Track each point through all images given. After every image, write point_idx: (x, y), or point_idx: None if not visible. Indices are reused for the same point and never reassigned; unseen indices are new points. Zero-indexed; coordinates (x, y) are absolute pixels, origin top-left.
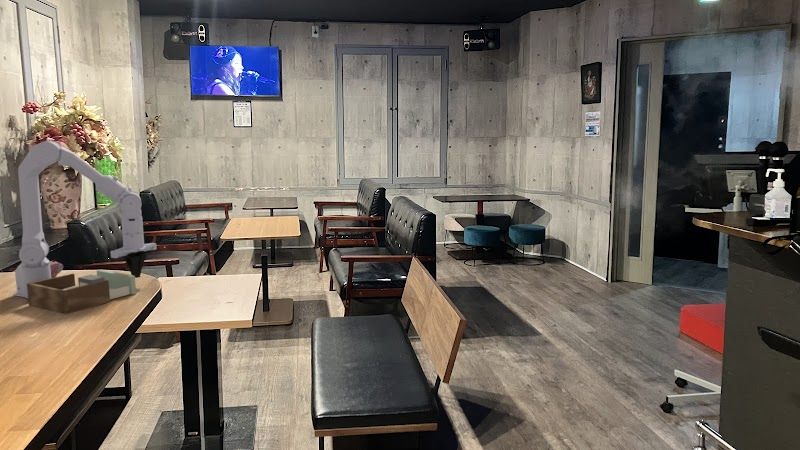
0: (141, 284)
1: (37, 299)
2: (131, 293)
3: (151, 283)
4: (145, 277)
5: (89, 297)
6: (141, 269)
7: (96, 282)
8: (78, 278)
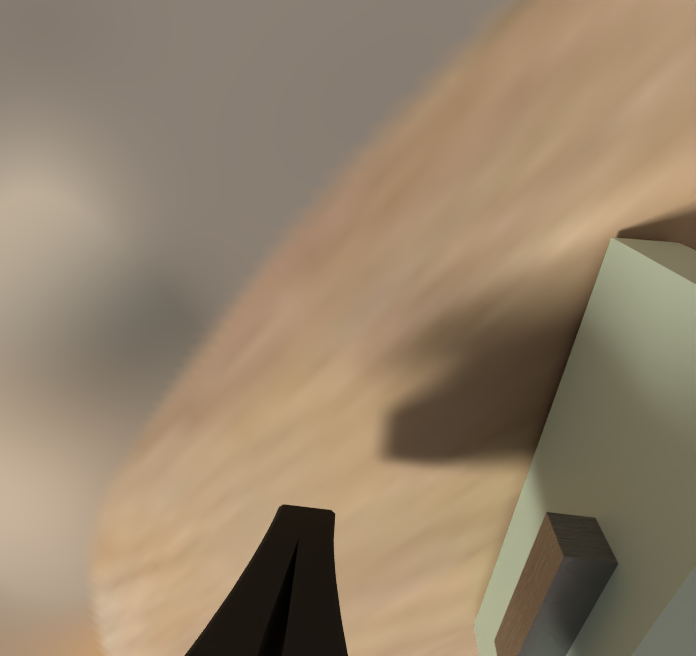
0: (266, 454)
1: None
2: (684, 250)
3: (190, 405)
4: (113, 552)
5: None
6: (240, 585)
7: None
8: None
